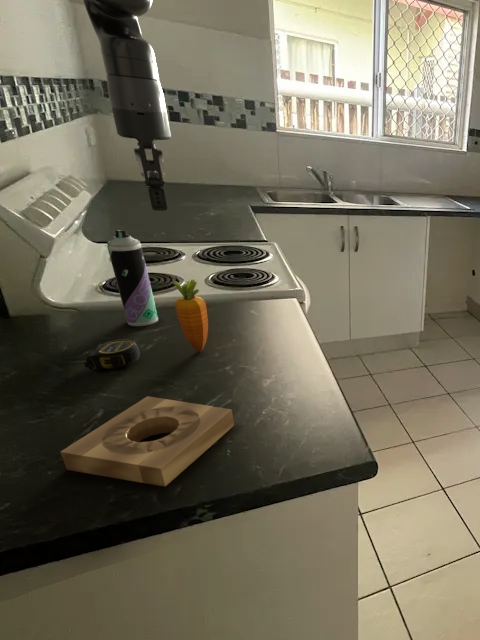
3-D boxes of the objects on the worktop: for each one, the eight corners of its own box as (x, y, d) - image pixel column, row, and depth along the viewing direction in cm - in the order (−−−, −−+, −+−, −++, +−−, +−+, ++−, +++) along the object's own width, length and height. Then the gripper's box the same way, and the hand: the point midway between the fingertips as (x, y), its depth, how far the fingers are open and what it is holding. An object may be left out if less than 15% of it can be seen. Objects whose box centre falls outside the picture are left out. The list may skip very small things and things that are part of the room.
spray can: (134, 328, 100) (110, 234, 92) (122, 320, 103) (98, 229, 94) (163, 321, 104) (142, 230, 96) (151, 314, 107) (130, 225, 98)
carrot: (178, 353, 92) (162, 280, 86) (202, 344, 97) (188, 273, 90) (197, 359, 91) (182, 285, 85) (220, 349, 95) (207, 278, 89)
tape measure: (104, 356, 89) (98, 338, 87) (147, 354, 91) (142, 337, 89) (87, 374, 83) (81, 355, 81) (133, 372, 85) (128, 353, 83)
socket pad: (66, 470, 62) (59, 451, 61) (151, 412, 75) (147, 396, 74) (165, 487, 61) (160, 468, 60) (234, 425, 74) (231, 409, 73)
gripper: (112, 103, 83) (133, 198, 90) (109, 107, 73) (133, 213, 79) (164, 108, 87) (180, 198, 94) (168, 111, 77) (186, 213, 83)
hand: (159, 205), depth 86 cm, fingers open, 8 cm apart
